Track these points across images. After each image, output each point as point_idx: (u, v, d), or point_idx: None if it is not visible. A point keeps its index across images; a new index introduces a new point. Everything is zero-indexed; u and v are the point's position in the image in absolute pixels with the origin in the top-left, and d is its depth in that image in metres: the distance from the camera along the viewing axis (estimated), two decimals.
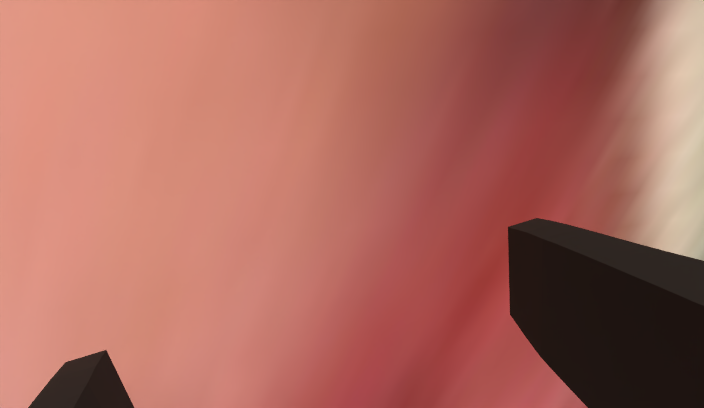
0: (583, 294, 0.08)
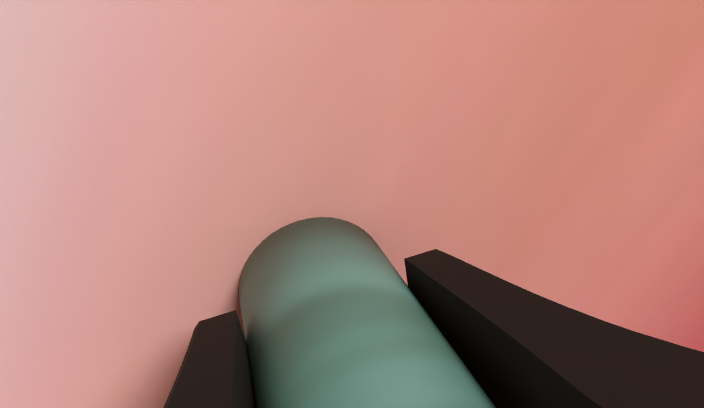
0: (461, 336, 0.07)
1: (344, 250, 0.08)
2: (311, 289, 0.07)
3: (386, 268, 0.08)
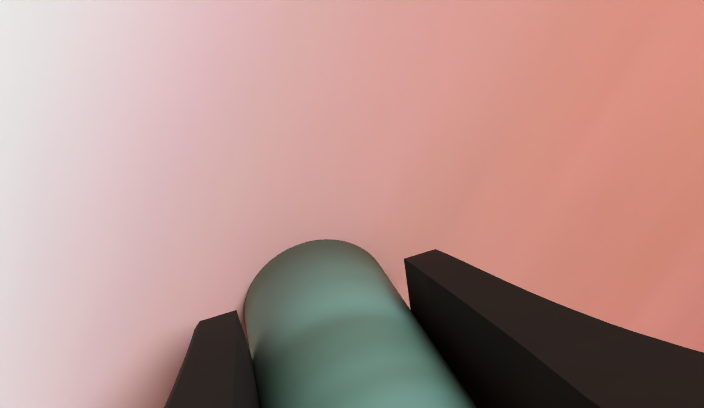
0: (461, 336, 0.07)
1: (350, 275, 0.09)
2: (319, 314, 0.08)
3: (390, 293, 0.09)
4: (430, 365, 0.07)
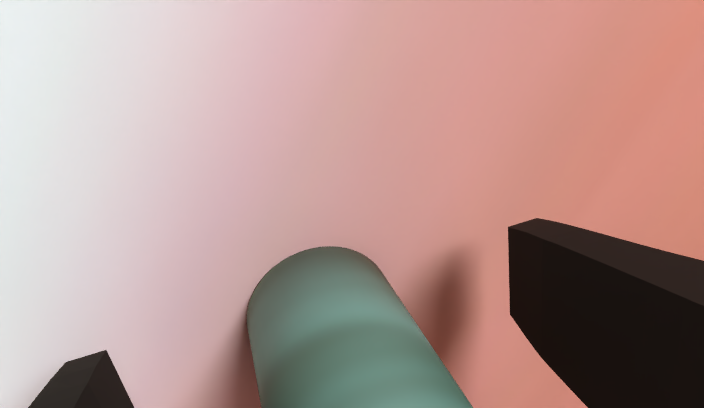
0: (583, 294, 0.08)
1: (353, 282, 0.09)
2: (323, 322, 0.08)
3: (393, 301, 0.09)
4: (433, 375, 0.07)
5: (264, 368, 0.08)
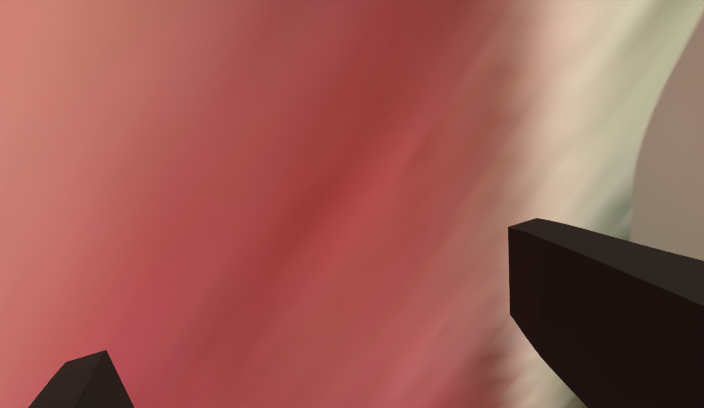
0: (582, 294, 0.08)
1: None
2: None
3: None
4: None
5: None
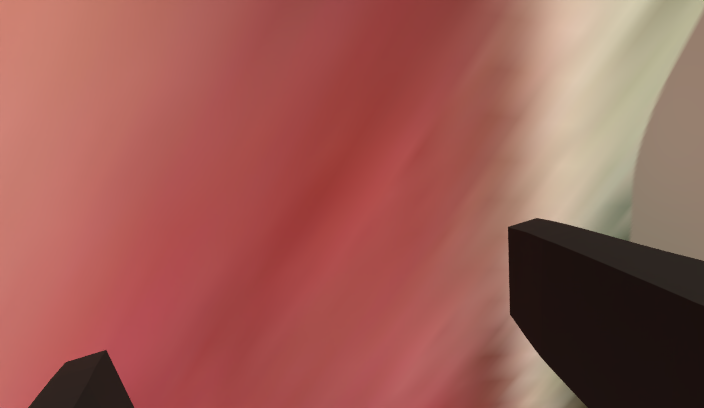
0: (583, 294, 0.08)
1: None
2: None
3: None
4: None
5: None
